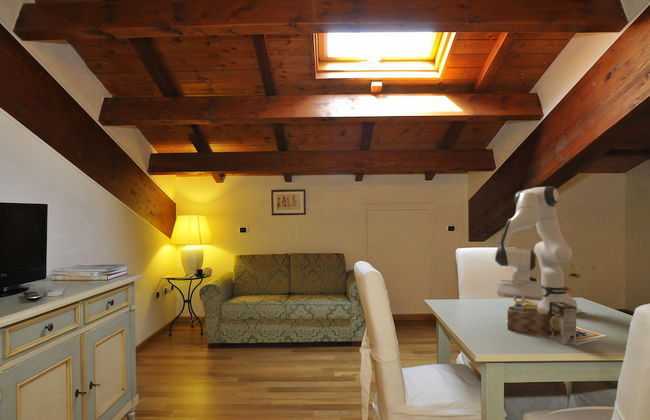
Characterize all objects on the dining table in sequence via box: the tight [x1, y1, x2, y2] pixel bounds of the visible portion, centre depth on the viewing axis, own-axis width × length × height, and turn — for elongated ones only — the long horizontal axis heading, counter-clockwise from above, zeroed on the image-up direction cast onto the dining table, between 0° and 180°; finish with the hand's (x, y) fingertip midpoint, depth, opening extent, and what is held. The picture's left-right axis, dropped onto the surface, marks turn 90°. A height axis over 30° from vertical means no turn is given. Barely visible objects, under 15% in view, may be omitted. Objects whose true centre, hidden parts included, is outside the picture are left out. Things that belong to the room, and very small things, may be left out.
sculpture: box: [511, 298, 539, 309], centre depth 206 cm, size 11×12×11 cm
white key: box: [537, 306, 548, 314], centre depth 186 cm, size 4×4×4 cm
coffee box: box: [549, 302, 577, 345], centre depth 172 cm, size 9×6×16 cm
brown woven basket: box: [507, 305, 550, 336], centre depth 188 cm, size 19×10×9 cm, turn 59°
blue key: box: [513, 305, 524, 312], centre depth 191 cm, size 4×4×4 cm
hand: (518, 305), depth 191 cm, fingers closed, pressing on blue key
